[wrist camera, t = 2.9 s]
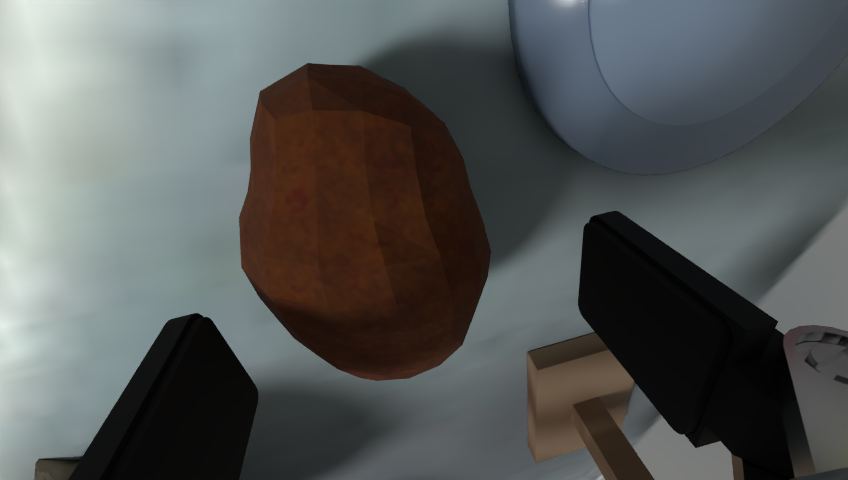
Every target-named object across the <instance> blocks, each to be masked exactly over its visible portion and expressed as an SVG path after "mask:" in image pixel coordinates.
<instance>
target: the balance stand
mask: <svg viewBox="0 0 848 480" xmlns="http://www.w3.org/2000/svg"><path fill="white" fill-rule="evenodd" d="M527 372H528V446H529V448H530V451H531V453H532V455H533V457H534V460H535V462H536V463H538V462H541V461H544V460H547V459H551V458H554V457H557V456H560V455H563V454H566V453H570V452H573V451H576V450H579V449H582V448H586V447H587V448H588V450H589V452H590V454H591V455H592V457H593V459H594V461H595V462H596V464H597V466H598V468H599V469H600V471H601V473H602V475H603V476H604V478H605V480H654V478H653V477H652V475H651V474H650V472H649V471H648V470H647V468H646V467H645V465H644V464H643V462H642V461H641V459H640V458H639V457H638V455H637V453H636V452H635V450H634V449H633V447H632V446H631V445H630V443H629V442H628V440H627V439H626V437H625V436H624V434H623V433H622V431H621V429H622V425H623V421H624V417H625V414H626V410H627V406H628V402H629V399H630V395H631V391H632V387H633V383H634V380H633V379H632V378H631V376H630V375H629V374H628V373H627V371H626V370H625V369H624V368H623V366H622V365H621V364H620V363H619V361H618V360H617V359H616V358H615V356H614V355H613V354H612V353H611V351H610V350H609V349H608V348H607V346H606V345H605V344H604V343H603V341H602V340H601V339H600V338H599V336H598V335H597V334H596V333H592V334H589V335H585V336H582V337H578V338H575V339H571V340H568V341H564V342H561V343H557V344H554V345H550V346H547V347H543V348H540V349H536V350H533V351H529V352H527Z"/></svg>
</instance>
